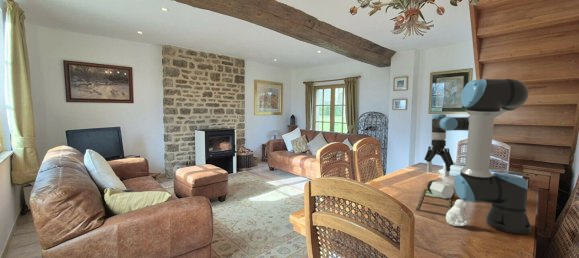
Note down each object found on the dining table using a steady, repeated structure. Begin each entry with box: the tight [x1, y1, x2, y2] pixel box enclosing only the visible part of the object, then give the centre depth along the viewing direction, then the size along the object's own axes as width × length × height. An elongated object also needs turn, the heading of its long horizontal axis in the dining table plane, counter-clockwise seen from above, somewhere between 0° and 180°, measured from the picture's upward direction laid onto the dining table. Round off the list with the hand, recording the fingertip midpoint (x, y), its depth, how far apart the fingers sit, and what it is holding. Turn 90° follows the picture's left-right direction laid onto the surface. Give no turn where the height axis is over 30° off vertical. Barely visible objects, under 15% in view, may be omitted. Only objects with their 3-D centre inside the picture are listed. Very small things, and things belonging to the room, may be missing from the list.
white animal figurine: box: [445, 198, 471, 227], centre depth 112 cm, size 6×8×12 cm
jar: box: [426, 179, 454, 200], centre depth 153 cm, size 9×8×12 cm
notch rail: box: [415, 186, 456, 217], centre depth 143 cm, size 43×17×6 cm, turn 147°
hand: (437, 174), depth 155 cm, fingers open, 13 cm apart
